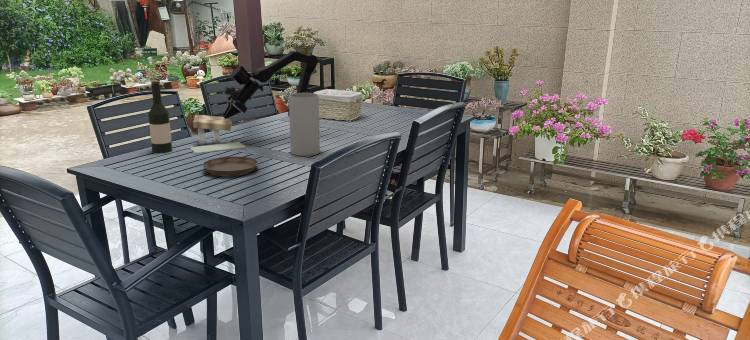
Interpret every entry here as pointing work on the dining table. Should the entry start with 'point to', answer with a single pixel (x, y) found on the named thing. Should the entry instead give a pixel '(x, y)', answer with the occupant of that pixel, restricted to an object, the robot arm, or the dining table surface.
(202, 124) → the beech rail
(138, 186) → the dining table surface
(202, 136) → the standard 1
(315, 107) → the cylinder vase
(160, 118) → the wine bottle
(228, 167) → the plant saucer
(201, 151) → the mat
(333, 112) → the storage basket
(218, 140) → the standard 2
